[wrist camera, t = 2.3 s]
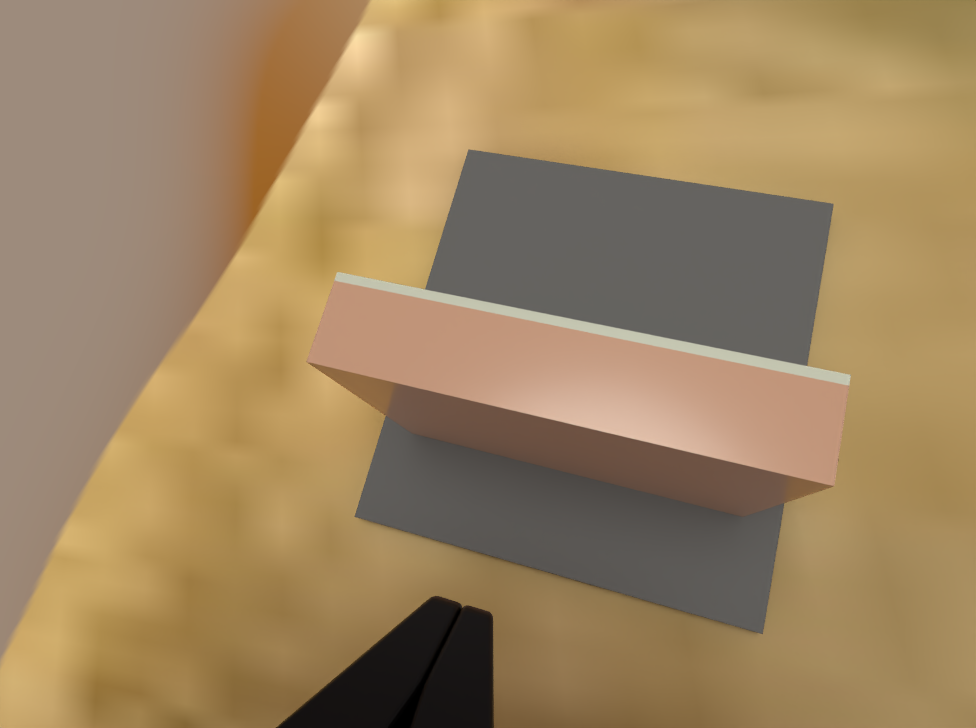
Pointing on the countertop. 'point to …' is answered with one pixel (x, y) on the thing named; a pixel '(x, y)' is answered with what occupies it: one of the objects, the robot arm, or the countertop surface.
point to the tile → (586, 396)
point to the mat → (625, 305)
